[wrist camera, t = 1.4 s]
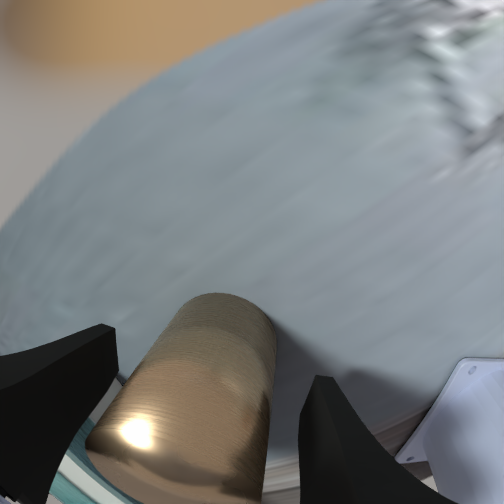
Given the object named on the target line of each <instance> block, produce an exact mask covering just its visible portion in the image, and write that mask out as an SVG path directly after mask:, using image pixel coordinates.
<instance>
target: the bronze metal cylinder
mask: <svg viewBox="0 0 504 504" xmlns="http://www.w3.org/2000/svg"><path fill="white" fill-rule="evenodd" d="M276 351H277V338H276V333H275V330H274V328H273V325H272V323H271V322H270V320H269V319H268V317H267V316H266V315H265V314H264V313H263V312H262V311H261V310H260V309H259V308H258V307H257V306H255V305H254V304H252V303H251V302H249V301H247V300H245V299H243V298H241V297H238V296H235V295H231V294H225V293H208V294H204V295H200V296H197V297H195V298H193V299H191V300H189V301H188V302H187V303H185V304H184V305H183V306H182V307H181V308H180V310H179V311H178V312H177V313H176V315H175V316H174V317H173V319H172V320H171V321H170V323H169V324H168V325H167V327H166V328H165V330H164V331H163V332H162V334H161V335H160V336H159V338H158V339H157V340H156V342H155V343H154V344H153V346H152V347H151V348H150V350H149V351H148V352H147V354H146V355H145V357H144V358H143V359H142V361H141V362H140V363H139V365H138V366H137V367H136V369H135V370H134V372H133V373H132V374H131V376H130V377H129V378H128V380H127V381H126V383H125V384H124V385H123V387H122V388H121V390H120V391H119V392H118V394H117V395H116V396H115V398H114V399H113V401H112V402H111V403H110V405H109V406H108V408H107V409H106V410H105V412H104V413H103V415H102V416H101V418H100V419H99V420H98V422H97V423H96V425H95V426H94V428H93V429H92V430H91V432H90V433H89V435H88V436H87V438H86V440H85V450H86V453H87V455H88V457H89V459H90V461H91V462H92V464H93V465H94V466H95V468H96V469H97V470H98V471H99V472H100V473H101V474H102V475H103V476H104V477H105V478H106V479H107V480H108V481H109V482H111V483H112V484H113V485H114V486H116V487H117V488H118V489H120V490H121V491H123V492H124V493H126V494H127V495H129V496H131V497H132V498H134V499H136V500H138V501H140V502H142V503H144V504H261V499H262V491H263V483H264V474H265V466H266V457H267V448H268V438H269V429H270V419H271V408H272V398H273V387H274V375H275V363H276Z"/></svg>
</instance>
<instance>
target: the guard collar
mask: <svg viewBox="0 0 504 504" xmlns="http://www.w3.org/2000/svg"><path fill="white" fill-rule="evenodd" d="M95 425H96V424H95V423H94V422H93V421H92V420H91V419H90V418H89V417H88V418H87V420H86V421H85V422H84V424H83V425H82V426H81V428H80V429H79V431H78V432H77V434H76V435H75V437H74V438H73V440H72V442H71V444H70V446H69V448H68V450H67V451H66V453H65V454H66V455H67V456H68V457H69V458H70V459H71V460H72V461H73V462H74V463H75V464H77V465H78V466H79V467H80V468H81V469H82V470H83V471H84V472H85V473H87V474H88V475H89V476H90V477H91V478H92V479H94V480H95V481H96V482H97V483H98V484H100V485H101V486H102V487H103V488H105V489H106V490H107V491H109V492H110V493H111V494H112V495H114V496H115V497H117V498H118V499H119V500H121V501H122V502H123V503H125V504H144V503H142V502H140V501H138V500H136V499H134V498H132V497H131V496H129V495H127V494H126V493H124V492H123V491H121V490H120V489H118V488H117V487H116V486H114V485H113V484H112V483H111V482H109V481H108V480H107V479H106V478H105V477H104V476H103V475H102V474H101V473H100V472H99V471H98V470H97V469H96V468H95V466H94V465H93V464H92V462H91V461H90V459H89V457H88V455H87V453H86V450H85V440H86V438H87V436H88V435H89V433H90V432H91V430H92V429H93V428H94V426H95ZM49 493H50V494H51V495H53V496H54V497H55V498H56V499H58V500H59V501H60V502H61V503H63V504H97V503H96V502H95V501H93V500H92V499H91V498H89V497H88V496H87V495H85V494H84V493H83V492H82V491H80V490H79V489H78V488H77V487H76V486H74V485H73V484H72V483H71V482H70V481H68V480H67V479H66V478H65V477H64V476H63V475H62V474H60V473H59V472H58V471H57V473H56V475H55V478H54V480H53V483H52V486H51V488H50V491H49Z"/></svg>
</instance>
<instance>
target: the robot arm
mask: <svg viewBox="0 0 504 504" xmlns="http://www.w3.org/2000/svg"><path fill="white" fill-rule="evenodd" d="M118 371H119V366H118V356H117V345H116V332H115V328H113V327H110V326H107V325H105V324H98V325H95V326H93V327H90V328H87V329H85V330H82V331H80V332H77V333H74V334H72V335H69V336H67V337H64V338H62V339H59V340H56V341H54V342H51V343H48V344H45V345H42V346H39V347H36V348H33V349H29V350H26V351H22V352H18V353H13V354H9V355H3V356H0V504H11V503H10V502H8V501H7V500H6V499H5V497H6V496H7V497H8V498H10V499H11V500H12V501H13V502H16V501H18V502H19V503H20V504H46V501H47V498H48V494H49V491H50V488H51V486H52V483H53V480H54V478H55V475H56V473H57V470H58V468H59V466H60V464H61V462H62V460H63V458H64V455H65V453H66V451H67V450H68V448H69V446H70V444H71V442H72V440H73V438H74V437H75V435H76V434H77V432H78V431H79V429H80V428H81V426H82V425H83V424H84V422H85V421H86V420H87V418H88V417H89V416H90V414H91V413H92V412H93V410H94V409H95V408H96V406H97V405H98V404H99V402H100V401H101V400H102V398H103V397H104V395H105V394H106V393H107V391H108V390H109V388H110V386H111V384H112V383H113V381H114V379H115V377H116V375H117V373H118ZM298 448H299V468H300V504H504V359H493V358H464V359H462V360H461V361H460V362H458V364H457V365H456V367H455V369H454V371H453V372H452V374H451V376H450V378H449V380H448V381H447V383H446V385H445V386H444V388H443V390H442V391H441V393H440V395H439V396H438V398H437V399H436V401H435V403H434V404H433V406H432V407H431V409H430V410H429V412H428V413H427V415H426V416H425V418H424V419H423V420H422V422H421V423H420V425H419V426H418V427H417V429H416V430H415V432H414V433H413V434H412V436H411V437H410V438H409V440H408V441H407V442H406V444H405V445H404V446H403V447H402V449H401V450H400V451H399V452H398V454H397V455H396V456H395V459H394V458H393V457H392V456H391V455H390V454H389V453H388V452H387V451H386V450H385V449H384V448H383V447H382V446H381V445H380V443H379V442H378V441H377V440H376V439H375V437H374V436H373V435H372V434H371V433H370V431H369V430H368V429H367V427H366V426H365V425H364V423H363V422H362V421H361V419H360V418H359V416H358V415H357V414H356V412H355V411H354V409H353V408H352V406H351V405H350V403H349V402H348V400H347V399H346V397H345V395H344V394H343V392H342V391H341V389H340V388H339V386H338V384H337V383H336V381H335V380H334V378H333V377H327V376H319V375H316V376H315V378H314V381H313V384H312V386H311V389H310V391H309V394H308V396H307V399H306V401H305V404H304V406H303V408H302V411H301V413H300V420H299V433H298ZM421 461H428V462H429V465H430V468H431V471H432V474H433V477H434V480H435V483H436V486H437V489H438V492H436V491H434V490H433V489H431V488H430V487H428V486H427V485H425V484H424V483H422V482H421V481H420V480H418V479H417V478H416V477H414V476H413V475H412V474H411V473H410V472H408V471H407V470H406V469H405V468H404V467H402V466H401V465H400V464H401V463H412V462H421Z"/></svg>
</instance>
